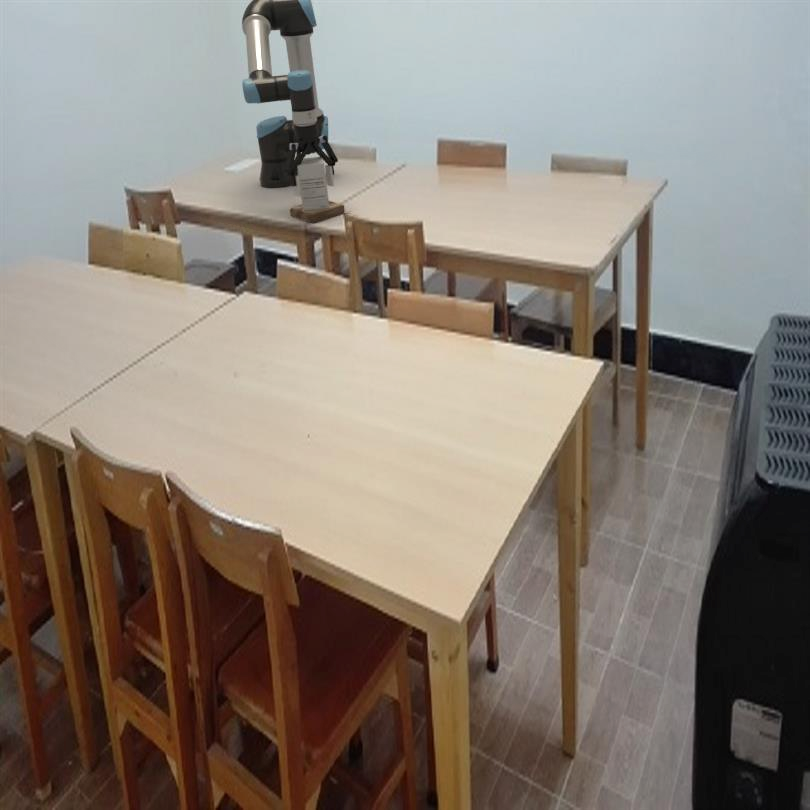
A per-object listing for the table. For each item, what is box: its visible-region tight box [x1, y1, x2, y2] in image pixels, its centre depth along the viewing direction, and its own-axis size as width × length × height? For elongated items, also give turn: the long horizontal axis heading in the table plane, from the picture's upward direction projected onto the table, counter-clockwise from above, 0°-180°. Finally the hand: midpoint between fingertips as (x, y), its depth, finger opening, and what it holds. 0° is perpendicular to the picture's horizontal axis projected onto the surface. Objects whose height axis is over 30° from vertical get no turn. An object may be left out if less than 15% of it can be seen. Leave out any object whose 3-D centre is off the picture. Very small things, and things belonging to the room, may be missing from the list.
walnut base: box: [289, 200, 346, 224], centre depth 272 cm, size 13×13×3 cm
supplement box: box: [297, 156, 330, 211], centre depth 267 cm, size 9×9×15 cm
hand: (314, 190), depth 268 cm, fingers open, 13 cm apart
